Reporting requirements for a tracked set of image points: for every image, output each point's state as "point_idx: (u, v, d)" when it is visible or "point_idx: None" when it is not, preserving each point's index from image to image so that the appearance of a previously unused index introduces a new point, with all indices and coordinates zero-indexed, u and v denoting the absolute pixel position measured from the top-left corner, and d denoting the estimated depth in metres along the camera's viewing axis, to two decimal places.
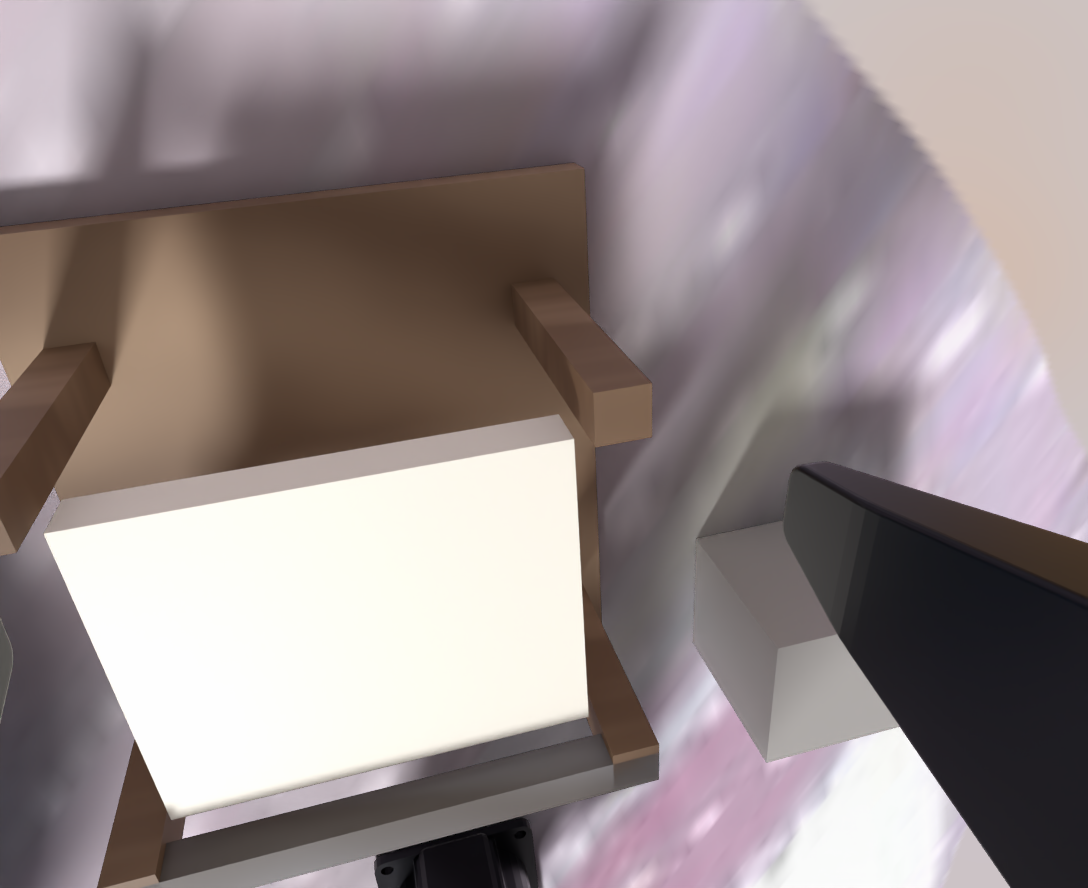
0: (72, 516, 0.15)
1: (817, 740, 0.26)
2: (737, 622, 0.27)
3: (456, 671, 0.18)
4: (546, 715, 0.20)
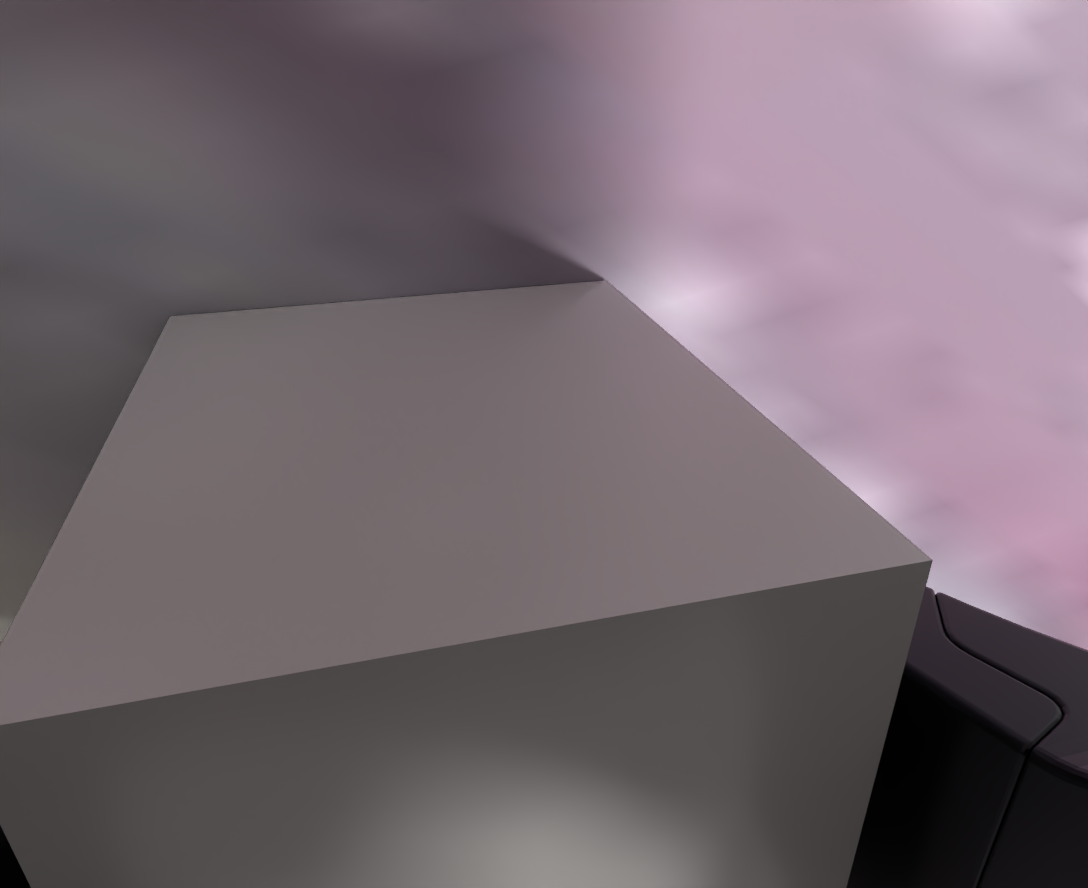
0: None
1: None
2: None
3: None
4: None
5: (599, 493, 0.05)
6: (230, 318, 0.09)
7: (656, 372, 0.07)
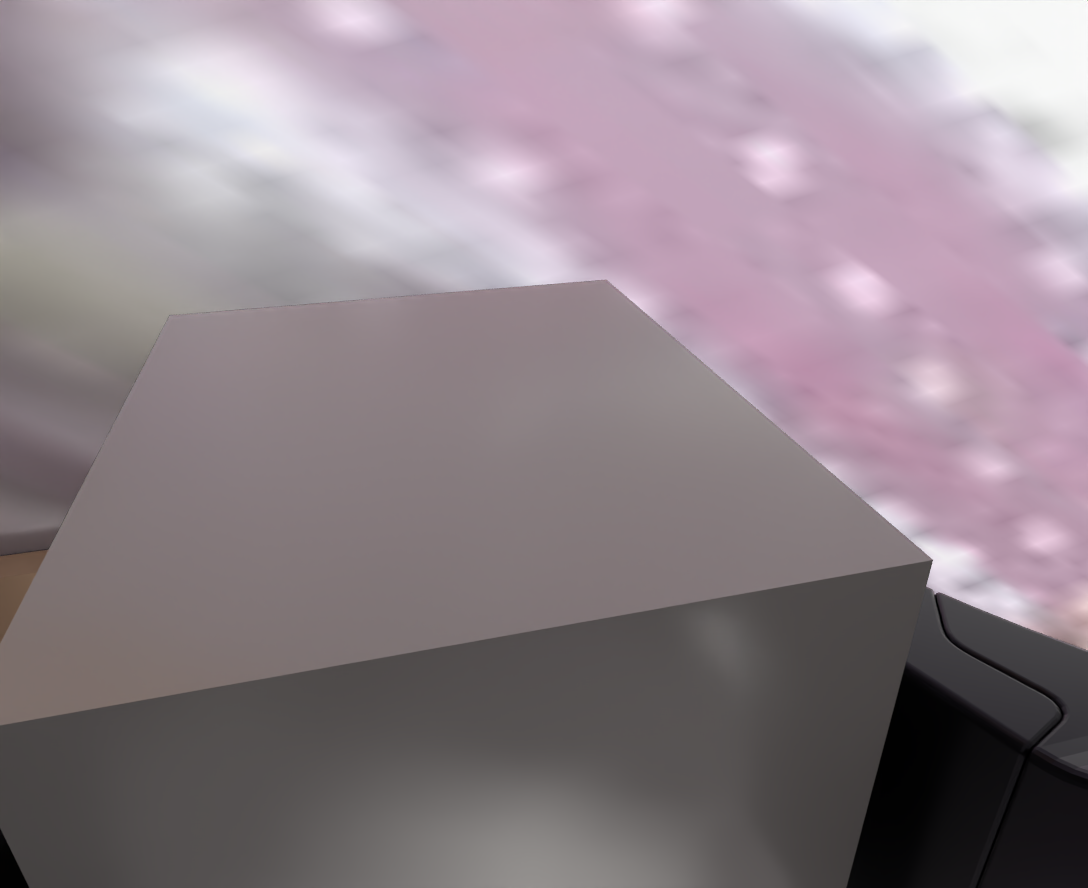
0: None
1: None
2: None
3: None
4: None
5: (599, 493, 0.05)
6: (229, 317, 0.09)
7: (656, 372, 0.07)
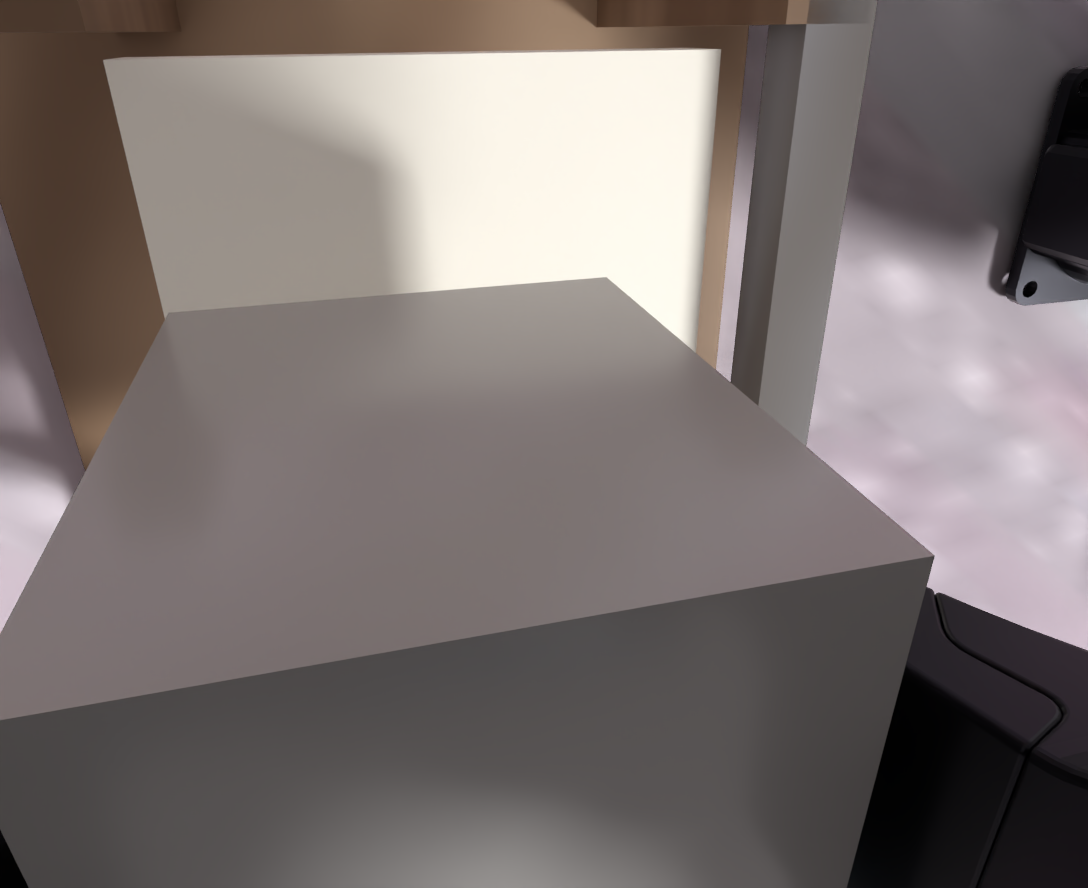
0: None
1: None
2: None
3: (550, 278, 0.12)
4: (688, 131, 0.12)
5: (599, 487, 0.05)
6: (228, 315, 0.09)
7: (656, 368, 0.07)
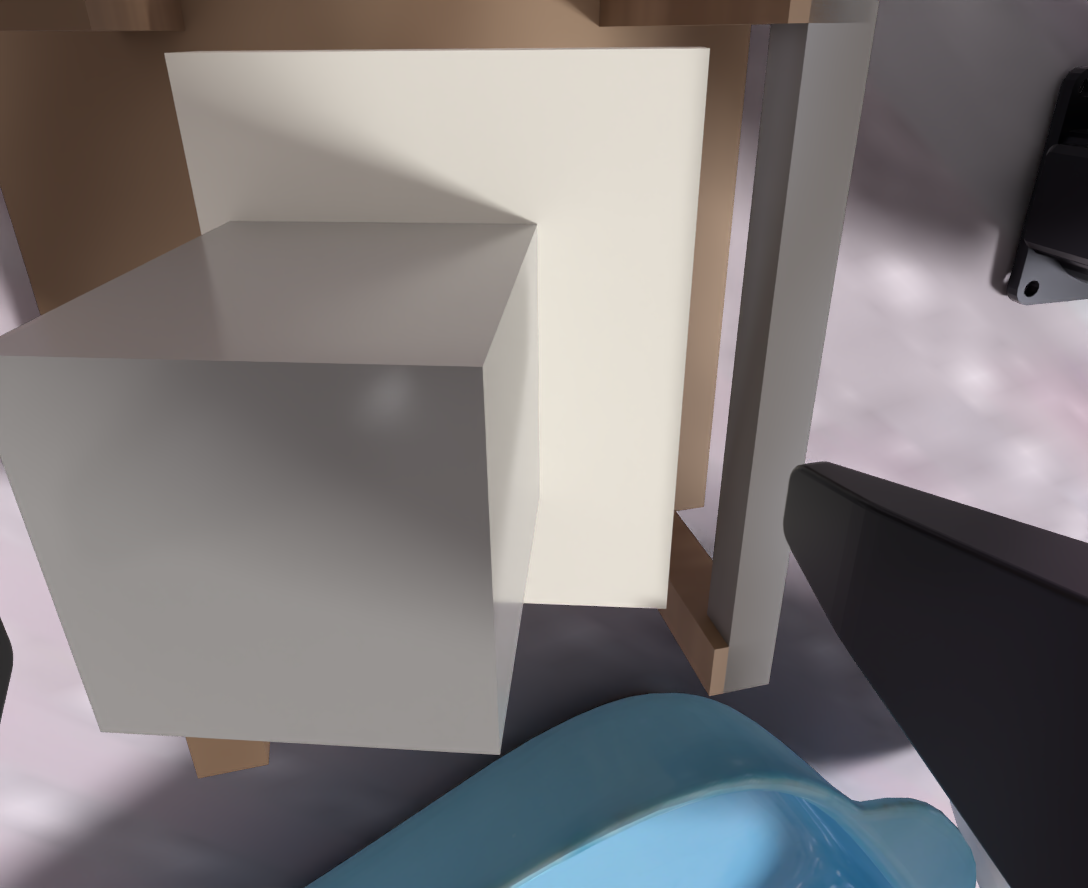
0: None
1: (456, 635, 0.09)
2: None
3: None
4: (676, 129, 0.12)
5: (347, 320, 0.08)
6: (262, 224, 0.13)
7: (479, 274, 0.10)
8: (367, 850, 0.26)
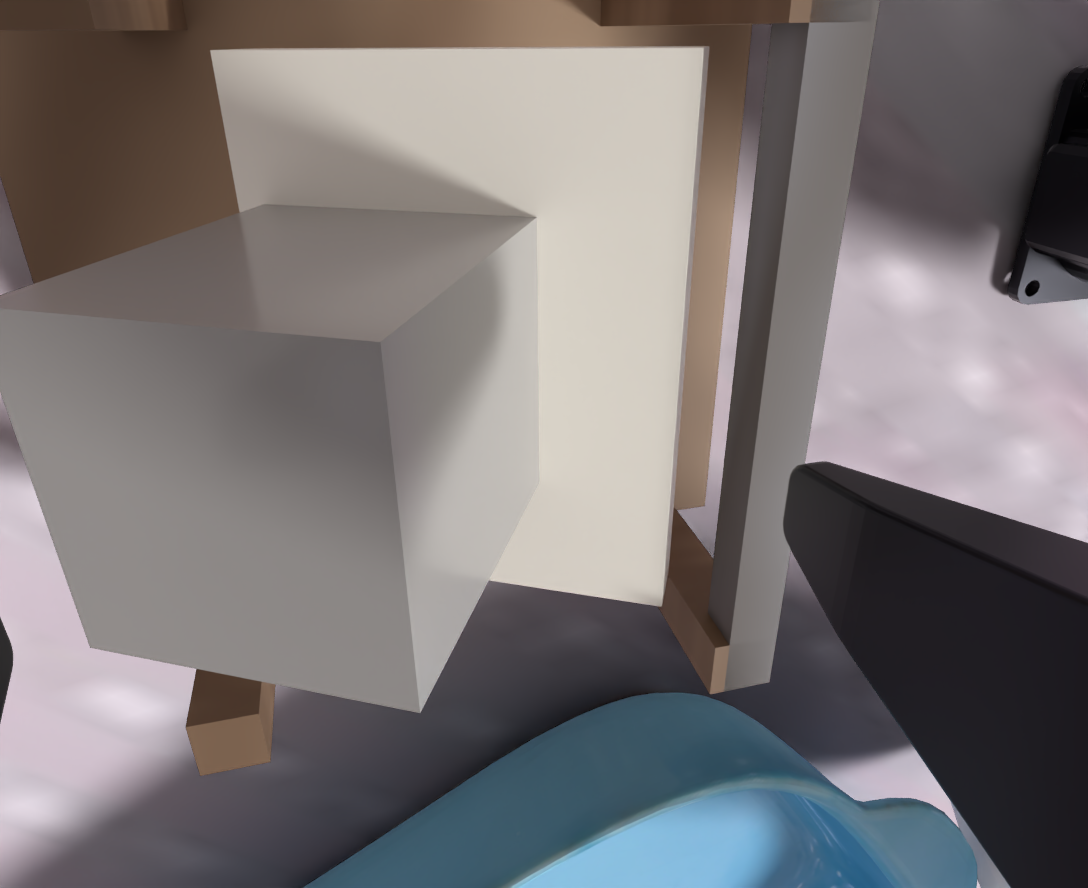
0: None
1: (374, 593, 0.09)
2: None
3: None
4: (670, 128, 0.12)
5: (296, 295, 0.09)
6: (289, 208, 0.14)
7: (444, 260, 0.11)
8: (370, 848, 0.26)
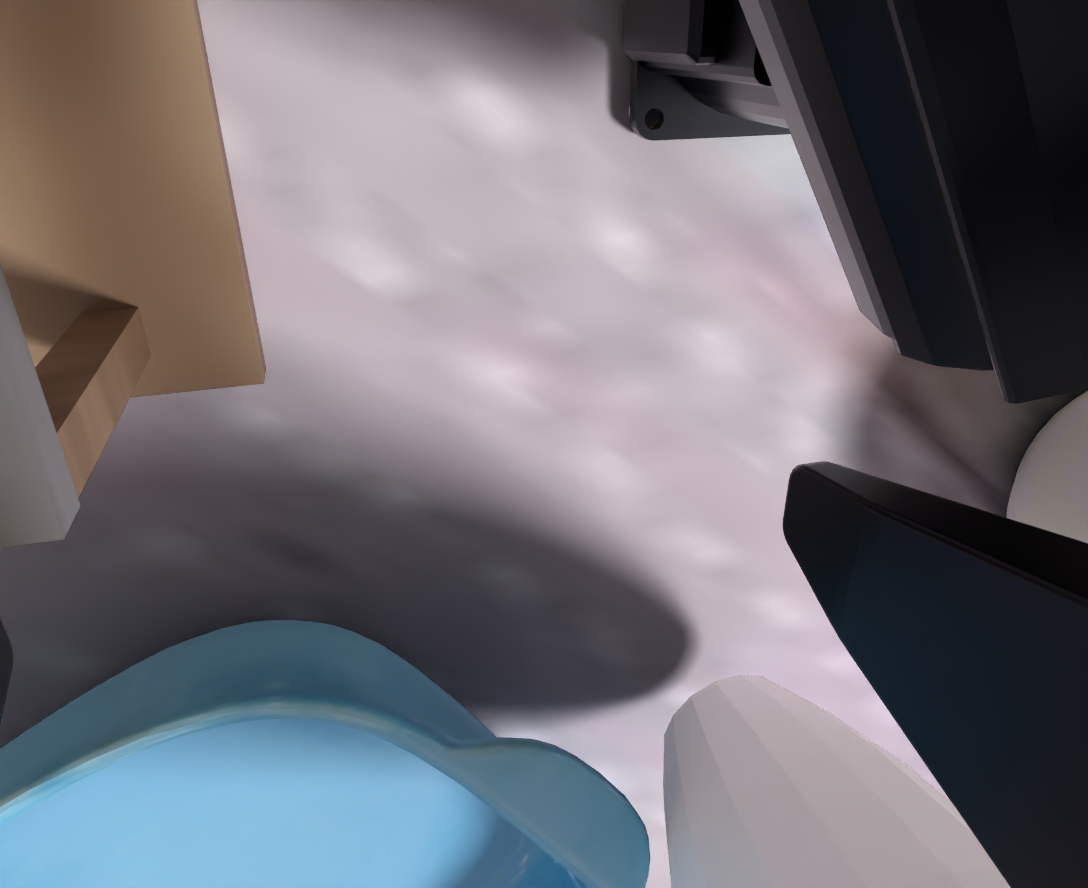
0: None
1: None
2: None
3: None
4: None
5: None
6: None
7: None
8: None
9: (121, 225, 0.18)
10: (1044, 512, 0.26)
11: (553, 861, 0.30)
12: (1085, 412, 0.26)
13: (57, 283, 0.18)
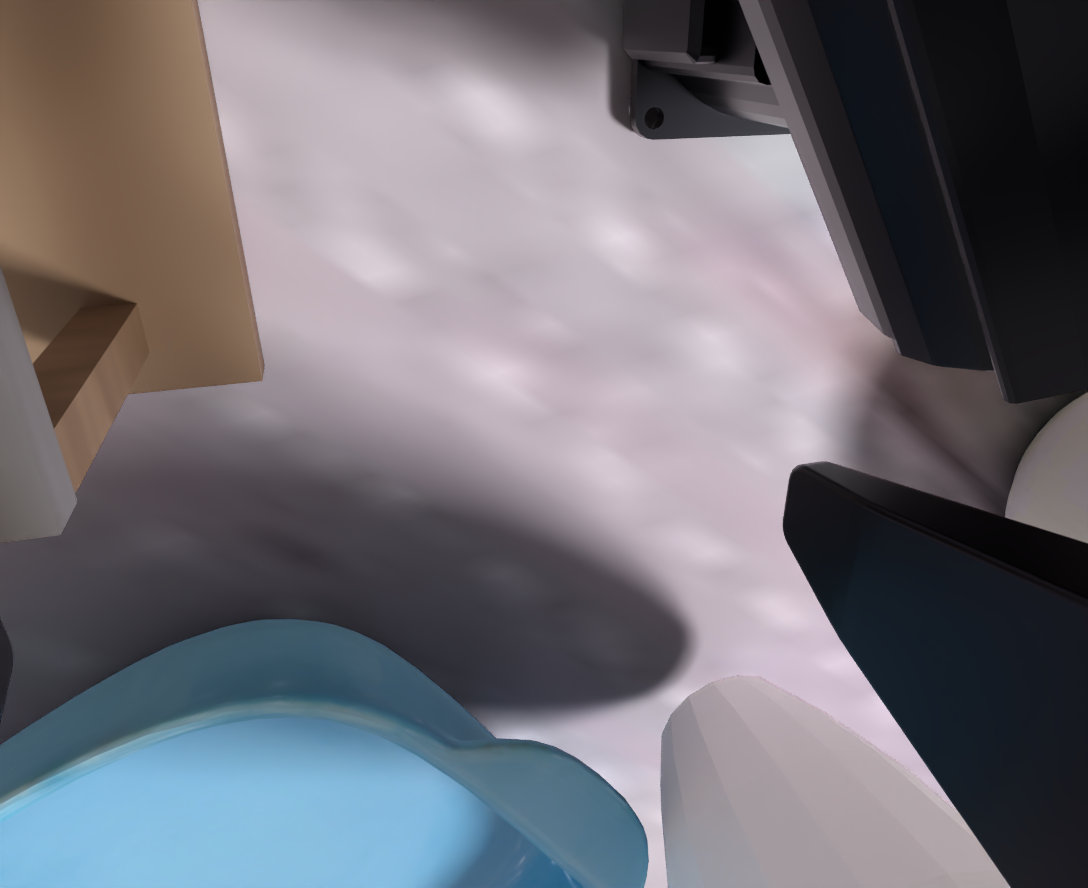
0: None
1: None
2: None
3: None
4: None
5: None
6: None
7: None
8: None
9: (120, 221, 0.18)
10: (1042, 513, 0.26)
11: (550, 863, 0.30)
12: (1084, 414, 0.26)
13: (55, 279, 0.18)
